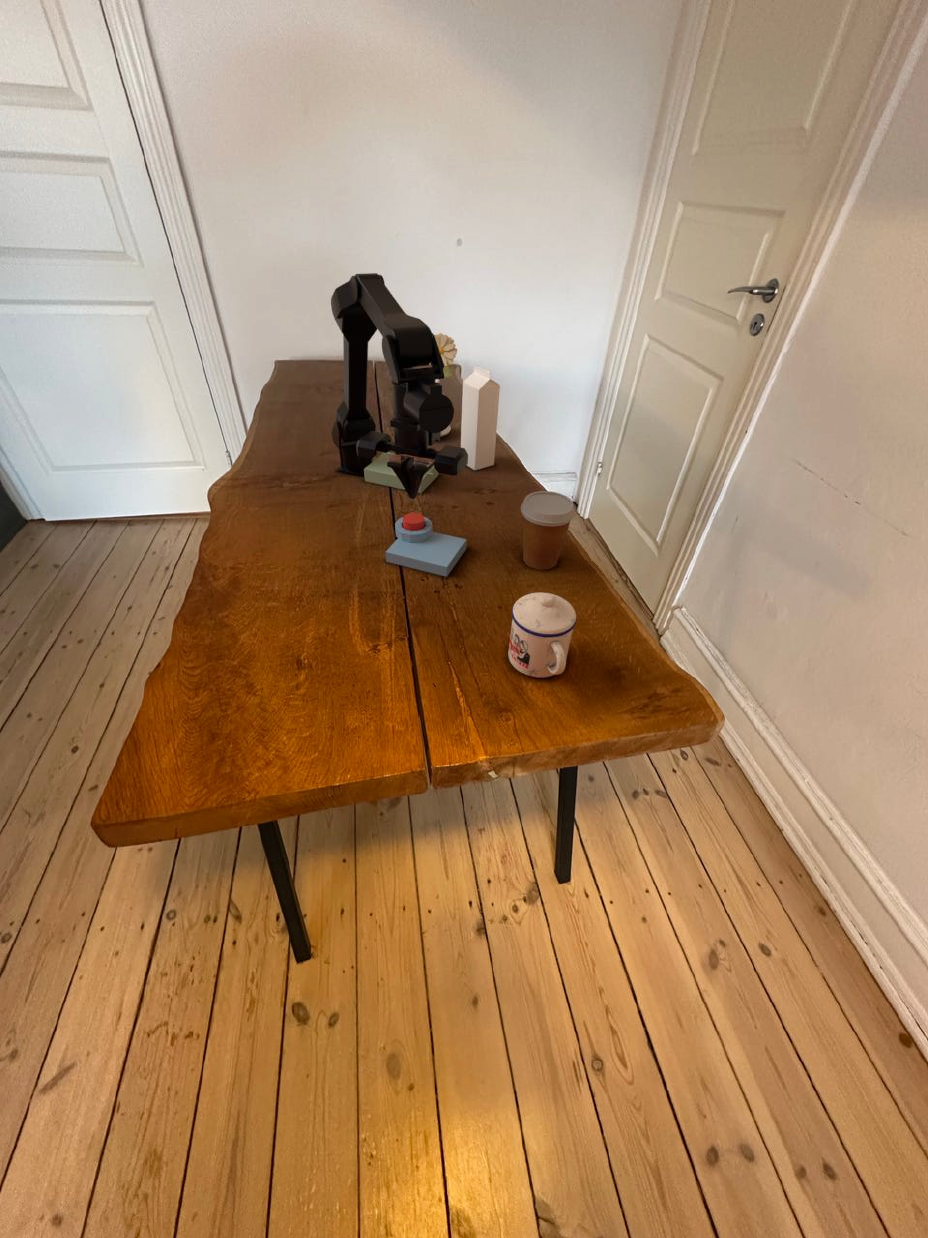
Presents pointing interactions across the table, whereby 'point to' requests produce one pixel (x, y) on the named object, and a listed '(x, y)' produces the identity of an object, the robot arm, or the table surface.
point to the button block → (425, 549)
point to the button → (413, 522)
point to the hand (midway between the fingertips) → (413, 497)
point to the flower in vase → (446, 360)
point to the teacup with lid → (541, 634)
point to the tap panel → (393, 474)
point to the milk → (479, 418)
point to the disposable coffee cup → (545, 527)
